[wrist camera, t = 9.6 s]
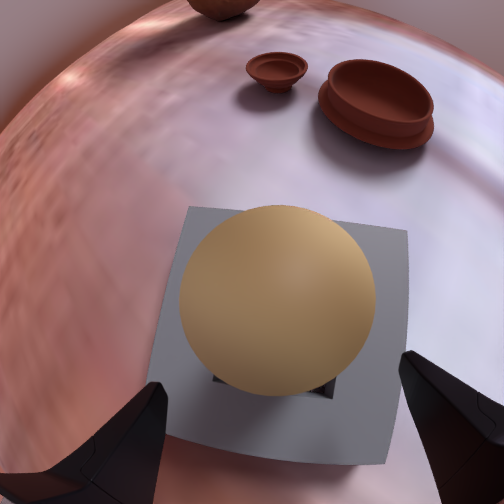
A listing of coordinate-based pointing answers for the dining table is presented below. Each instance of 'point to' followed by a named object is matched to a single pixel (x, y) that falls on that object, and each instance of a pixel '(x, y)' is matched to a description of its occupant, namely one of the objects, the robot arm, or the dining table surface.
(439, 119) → the dining table surface
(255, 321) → the tan wooden cylinder
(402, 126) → the pottery
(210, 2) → the butternut squash
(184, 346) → the socket block
